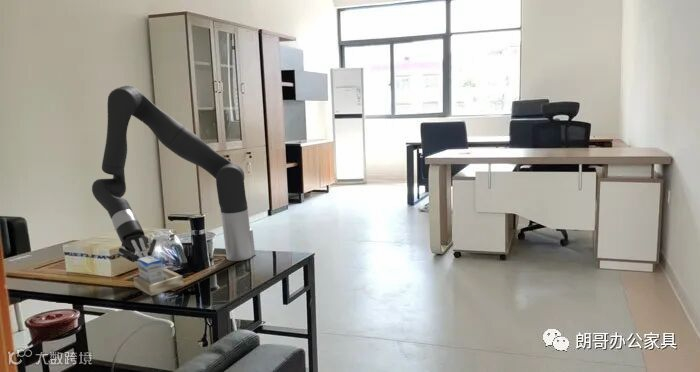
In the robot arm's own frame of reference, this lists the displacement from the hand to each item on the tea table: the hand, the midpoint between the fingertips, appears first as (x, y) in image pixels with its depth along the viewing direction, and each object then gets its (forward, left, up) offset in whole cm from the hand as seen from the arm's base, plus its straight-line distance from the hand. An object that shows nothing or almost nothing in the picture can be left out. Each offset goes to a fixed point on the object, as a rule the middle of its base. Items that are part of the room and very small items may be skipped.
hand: (148, 268), depth 169 cm
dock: (0, +7, -4) cm, 8 cm away
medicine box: (+1, +4, -4) cm, 6 cm away
